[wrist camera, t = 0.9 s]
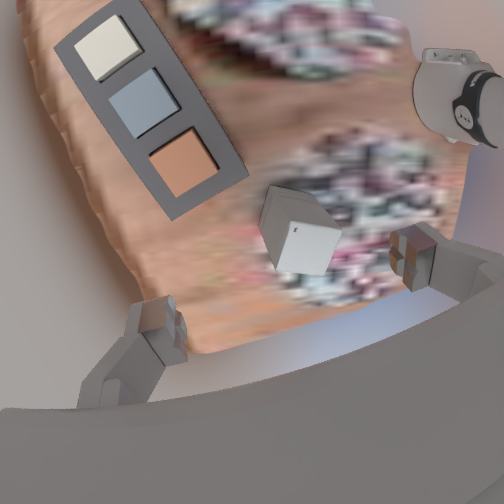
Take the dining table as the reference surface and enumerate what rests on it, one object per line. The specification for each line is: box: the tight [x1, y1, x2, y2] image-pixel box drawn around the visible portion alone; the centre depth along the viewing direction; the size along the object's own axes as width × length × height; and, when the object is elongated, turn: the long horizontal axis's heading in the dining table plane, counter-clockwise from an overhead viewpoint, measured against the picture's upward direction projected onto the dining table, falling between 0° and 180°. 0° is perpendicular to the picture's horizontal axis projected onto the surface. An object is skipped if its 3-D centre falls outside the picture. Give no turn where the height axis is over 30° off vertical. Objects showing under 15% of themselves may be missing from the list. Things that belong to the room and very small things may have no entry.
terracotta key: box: [149, 127, 218, 198], centre depth 35 cm, size 6×6×4 cm
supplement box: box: [258, 185, 343, 276], centre depth 42 cm, size 7×7×13 cm
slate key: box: [108, 69, 181, 138], centre depth 30 cm, size 6×6×4 cm
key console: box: [54, 0, 249, 221], centre depth 32 cm, size 12×30×6 cm, turn 28°
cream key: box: [74, 15, 145, 81], centre depth 25 cm, size 6×6×4 cm
